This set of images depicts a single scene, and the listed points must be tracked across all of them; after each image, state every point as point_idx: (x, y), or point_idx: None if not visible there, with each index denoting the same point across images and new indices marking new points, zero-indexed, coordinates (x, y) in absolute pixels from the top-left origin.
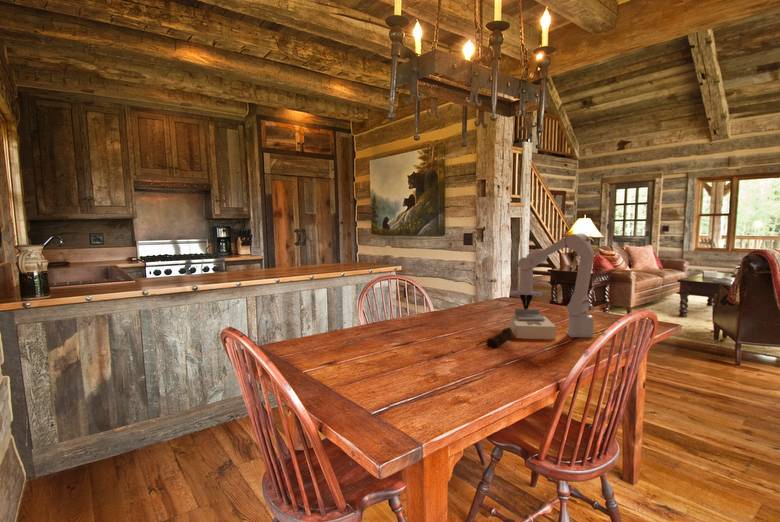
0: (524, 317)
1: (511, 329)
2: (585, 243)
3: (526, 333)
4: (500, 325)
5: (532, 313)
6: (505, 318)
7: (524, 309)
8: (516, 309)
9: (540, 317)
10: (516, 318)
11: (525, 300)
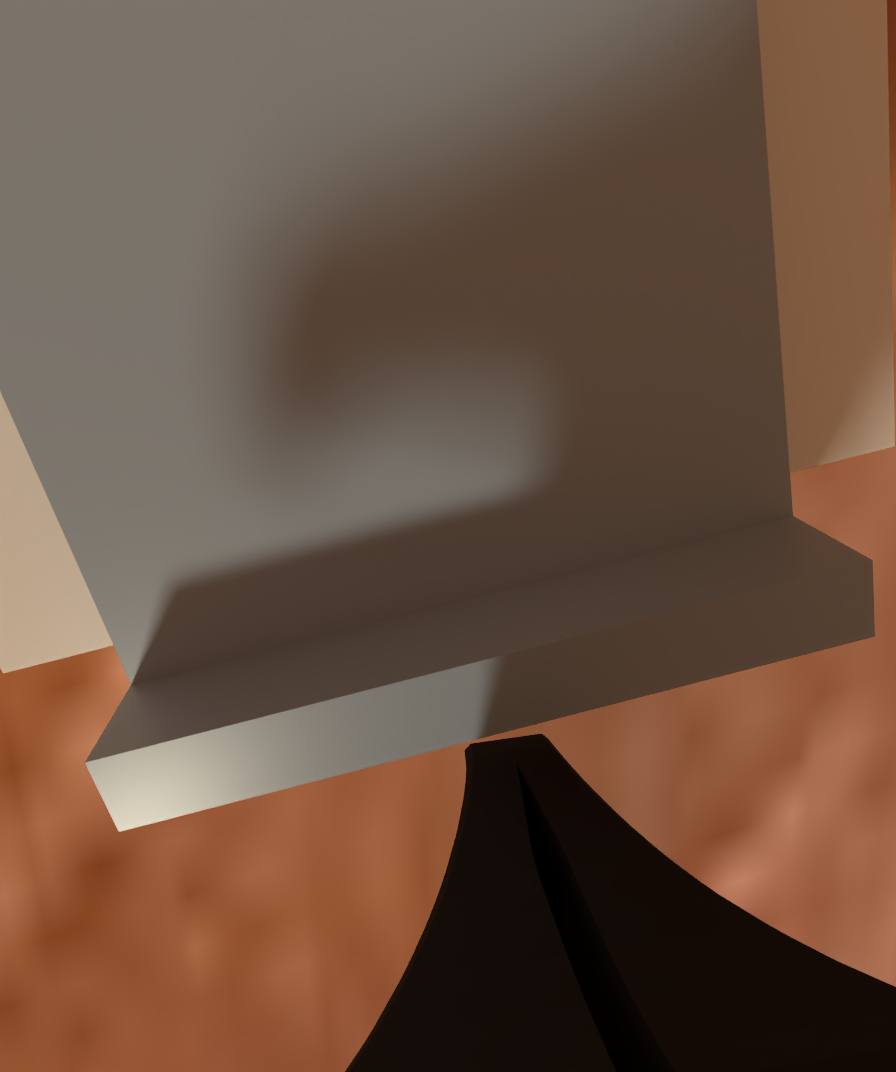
0: (540, 15)
1: None
2: None
3: None
4: (889, 481)
5: (319, 639)
6: (766, 915)
7: (570, 637)
8: (825, 571)
9: (9, 185)
10: None
11: (641, 979)
